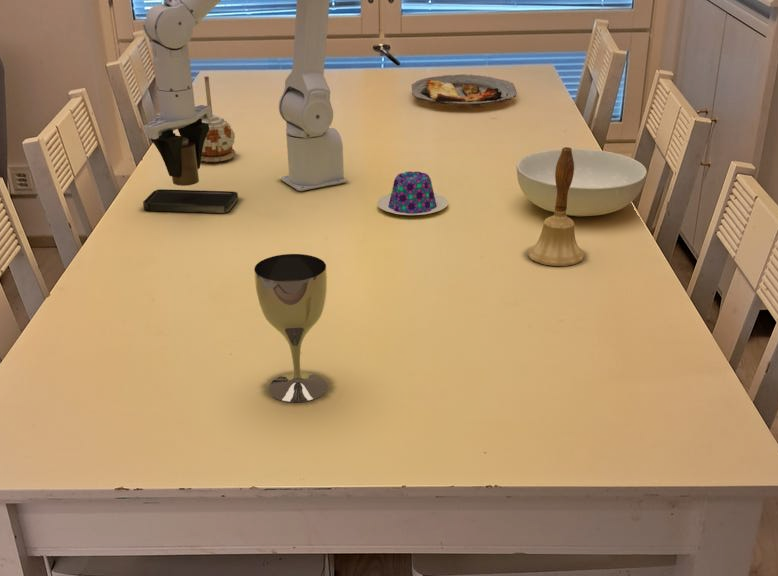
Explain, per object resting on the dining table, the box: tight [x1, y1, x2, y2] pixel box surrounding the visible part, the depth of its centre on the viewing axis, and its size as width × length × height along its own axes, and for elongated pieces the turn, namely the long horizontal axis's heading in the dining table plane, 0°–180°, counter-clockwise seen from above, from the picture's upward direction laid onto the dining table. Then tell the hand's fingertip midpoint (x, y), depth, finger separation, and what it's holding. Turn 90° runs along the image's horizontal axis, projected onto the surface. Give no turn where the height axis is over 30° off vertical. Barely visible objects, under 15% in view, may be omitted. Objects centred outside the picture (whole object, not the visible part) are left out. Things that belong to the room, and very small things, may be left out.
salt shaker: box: [171, 138, 200, 187], centre depth 171 cm, size 4×4×7 cm
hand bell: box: [527, 146, 585, 267], centre depth 149 cm, size 8×8×16 cm
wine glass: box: [253, 253, 329, 403], centre depth 117 cm, size 8×8×15 cm
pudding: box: [376, 171, 449, 216], centre depth 171 cm, size 12×12×5 cm
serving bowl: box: [516, 148, 648, 218], centre depth 168 cm, size 21×21×7 cm
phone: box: [142, 188, 239, 214], centre depth 175 cm, size 8×1×15 cm
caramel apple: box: [201, 75, 236, 163], centre depth 193 cm, size 8×8×15 cm
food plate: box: [411, 73, 518, 107], centre depth 230 cm, size 25×23×4 cm
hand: (184, 172), depth 172 cm, fingers closed on salt shaker, 4 cm apart
